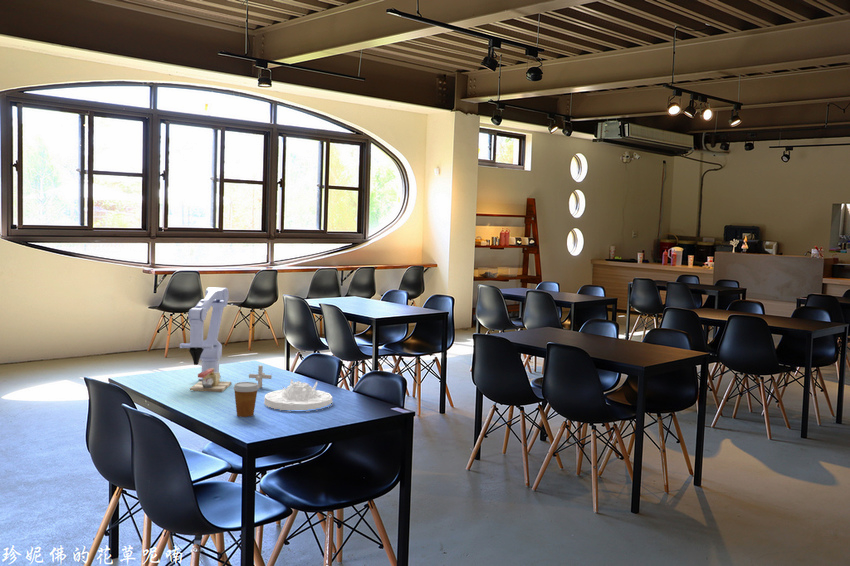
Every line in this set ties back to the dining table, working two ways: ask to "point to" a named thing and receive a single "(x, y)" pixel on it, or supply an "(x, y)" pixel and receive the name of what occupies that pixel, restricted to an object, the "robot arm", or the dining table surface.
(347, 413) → the dining table surface
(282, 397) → the cake
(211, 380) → the ball valve
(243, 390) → the disposable coffee cup
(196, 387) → the mounting board
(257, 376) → the pipe connector
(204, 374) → the lever
